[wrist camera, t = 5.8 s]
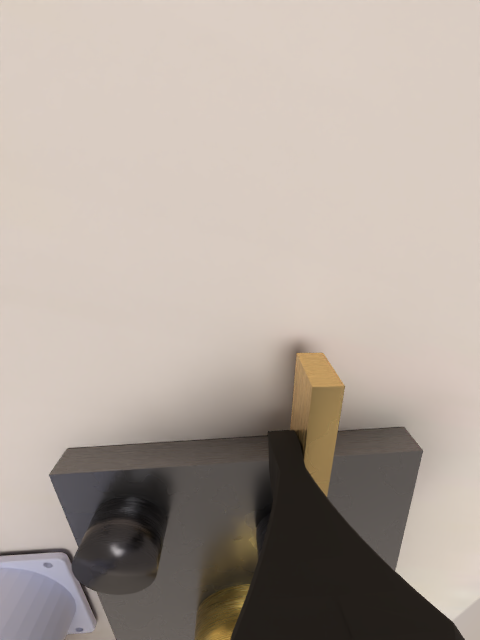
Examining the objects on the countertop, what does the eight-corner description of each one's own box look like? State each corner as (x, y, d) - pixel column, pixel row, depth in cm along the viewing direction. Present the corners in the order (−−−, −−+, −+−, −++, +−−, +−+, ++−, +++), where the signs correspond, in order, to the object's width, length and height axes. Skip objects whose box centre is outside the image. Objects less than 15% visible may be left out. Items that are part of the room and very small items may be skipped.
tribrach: (140, 651, 21) (115, 771, 17) (67, 448, 14) (-12, 562, 10) (363, 636, 21) (399, 751, 17) (403, 427, 14) (485, 529, 10)
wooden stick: (322, 551, 15) (337, 605, 13) (255, 553, 15) (258, 608, 13) (357, 352, 11) (387, 386, 9) (262, 353, 11) (269, 387, 9)
